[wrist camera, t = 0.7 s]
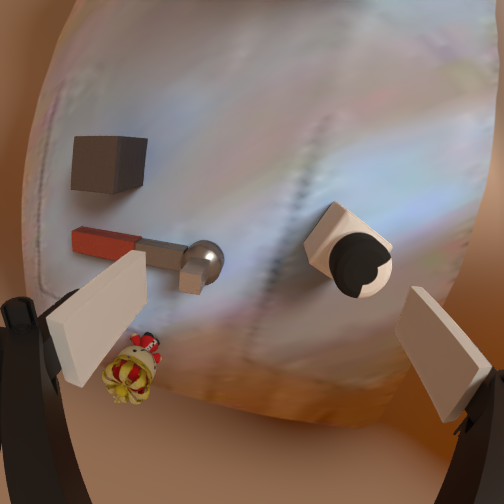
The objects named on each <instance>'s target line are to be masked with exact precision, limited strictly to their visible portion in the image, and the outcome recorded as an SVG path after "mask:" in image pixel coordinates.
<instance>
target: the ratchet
mask: <svg viewBox="0 0 504 504" xmlns="http://www.w3.org/2000/svg"><path fill="white" fill-rule="evenodd" d="M72 246H73V251H74V252H78V253H83V254H87V255H92V256H96V257H101V258H105V259H110V260H115V261H117V260H119V259H120V258H121V257H123V256H124V255H125V254H127V253H128V252H130V251H131V250H136V251H143V252H146V265H150V266H155V267H160V268H166V269H171V270H176V271H180V278H179V291H181V292H186V293H191V294H197V295H200V293H201V291H202V289H203V287H204V285H209V284H211V283H213V282H214V281H215V280H216V279H217V278H218V276H219V274H220V272H221V270H222V267H223V265H224V255H223V252H222V250H221V249H220V247H219V246H218V245H216V244H215V243H213V242H211V241H207V240H201V241H197V242H195V243H194V244H192V245H191V247H190V248H189V249H188V246H186V245H180V244H174V243H168V242H162V241H157V240H151V239H145V238H142V237H141V236H135V235H129V234H123V233H118V232H112V231H106V230H100V229H94V228H88V227H83V226H81V227H79V228H77V229H75V230H73V231H72Z"/></svg>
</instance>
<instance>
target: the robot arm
mask: <svg viewBox="0 0 504 504" xmlns="http://www.w3.org/2000/svg"><path fill="white" fill-rule="evenodd" d="M146 303H147V286H146V252H143V251H136V250H131V251H130V252H128V253H127V254H125V255H124V256H123V257H121V258H120V259H119V260H117V261H116V262H115V263H113V264H112V265H111V266H109V267H108V268H107V269H105V270H104V271H103V272H101V273H100V274H99V275H98V276H96V277H95V278H94V279H92V280H91V281H90V282H89V283H87V284H86V285H85V286H83V287H82V288H81V289H76V290H74V291H72V292H69V293H67V294H66V295H65V296H64V297H62V298H61V300H59V301H57V302H56V303H55V305H52V306H51V307H50V308H49V309H47V310H46V311H45V312H44V313H43V314H41V315H40V316H39V317H38V318H37V315H36V311H35V307H34V303H33V300H32V299H30V298H28V297H16V298H12V299H10V300H8V301H6V302H5V303H4V304H3V305H2V306H1V308H0V309H1V313H2V316H3V319H4V322H5V326H6V327H0V450H1V444H2V450H3V460H4V468H5V475H6V481H7V487H8V492H9V496H10V501H11V504H92V502H91V499H90V497H89V494H88V492H87V489H86V486H85V484H84V481H83V478H82V475H81V472H80V469H79V466H78V463H77V460H76V457H75V453H74V450H73V446H72V443H71V439H70V435H69V432H68V427H67V423H66V418H65V414H64V409H63V404H62V398H61V393H60V387H59V382H58V379H57V376H56V375H57V374H58V373H59V372H60V370H61V369H62V372H63V375H64V377H65V380H66V381H67V382H69V383H72V384H74V385H76V386H79V387H81V388H82V387H83V386H84V385H85V383H86V382H87V380H88V379H89V378H90V376H91V375H92V374H93V372H94V371H95V370H96V368H97V367H98V365H99V364H100V363H101V361H102V360H103V359H104V357H105V356H106V355H107V353H108V352H109V351H110V349H111V348H112V347H113V345H114V344H115V343H116V341H117V340H118V339H119V338H120V336H121V335H122V334H123V332H124V331H125V330H126V329H127V327H128V326H129V325H130V323H131V322H132V321H133V320H134V318H135V317H136V316H137V314H138V313H139V312H140V311H141V309H142V308H143V307H144V306H145V304H146ZM394 333H395V335H396V336H397V338H398V340H399V341H400V343H401V345H402V347H403V348H404V350H405V352H406V354H407V355H408V357H409V359H410V361H411V362H412V364H413V366H414V368H415V370H416V372H417V373H418V375H419V377H420V379H421V381H422V383H423V385H424V387H425V388H426V390H427V392H428V394H429V396H430V398H431V400H432V402H433V404H434V406H435V408H436V410H437V412H438V414H439V416H440V418H441V420H442V422H443V423H446V422H451V421H456V420H457V419H458V417H459V416H460V415H461V414H462V412H463V411H464V409H465V411H466V412H467V414H468V415H467V417H466V418H465V419H464V420H463V422H462V423H461V424H460V425H459V427H458V428H457V429H456V430H455V432H454V435H456V433H457V432H458V431H460V434H459V435H458V437H459V438H458V441H457V445H456V448H455V451H454V454H453V457H452V460H451V463H450V466H449V469H448V472H447V474H446V477H445V479H444V482H443V484H442V487H441V489H440V491H439V494H438V496H437V498H436V500H435V503H434V504H504V370H499V371H496V370H495V368H494V367H493V366H492V364H491V363H490V362H489V361H488V359H487V358H486V357H485V356H484V354H482V352H481V351H480V349H478V348H477V346H476V345H475V344H474V342H473V341H472V340H471V339H469V338H468V336H467V335H466V334H465V333H464V332H463V331H462V330H461V328H460V327H459V326H458V325H457V324H456V323H455V322H454V320H453V319H452V318H451V317H450V316H449V315H448V314H447V313H446V312H445V311H444V310H443V308H442V307H441V306H440V305H439V304H438V303H437V302H436V301H435V300H434V299H433V298H432V297H431V296H430V295H429V294H428V293H427V292H426V291H425V290H424V289H423V288H422V287H415V286H410V289H409V292H408V295H407V298H406V301H405V304H404V307H403V309H402V312H401V315H400V318H399V320H398V323H397V326H396V328H395V331H394Z"/></svg>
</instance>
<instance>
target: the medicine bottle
mask: <svg viewBox="0 0 504 504" xmlns="http://www.w3.org/2000/svg"><path fill="white" fill-rule="evenodd" d="M303 246H304V249H305V252H306V255H307V258H308V261H309V264H310V265H312V266H313V267H315V268H316V269H318V270H319V271H321V272H322V273H324V274H325V275H327V276H328V277H330V278H331V279H333V280H334V281H335V283H336V285H337V287H338V288H339V290H340V291H341V292H343V293H344V294H345V295H347V296H350V297H353V298H365V297H368V296H371V295H373V294H375V293H377V292H378V291H379V290H380V289H382V288H383V286H384V285H385V284H386V282H387V281H388V279H389V277H390V274H391V270H392V260H391V256H390V253H389V252H390V251H391V250H392V248H393V247H392V245H391V244H390V243H389V242H388V241H387V240H385V239H384V238H383V237H382V236H380V235H379V234H378V233H377V232H376V231H374V230H373V229H372V228H371V227H369V226H368V225H367V224H366V223H364V222H363V221H362V220H360V219H359V218H358V217H357V216H355V215H354V214H353V213H351V212H350V211H349V210H347V209H346V208H345V207H343V206H342V205H341V204H339V203H338V202H336V201H334V202H333V203H332V204H331V206H330V207H329V208H328V210H327V211H326V213H325V214H324V215H323V217H322V218H321V220H320V221H319V222H318V224H317V225H316V227H315V228H314V229H313V231H312V232H311V233H310V235H309V236H308V238H307V239H306V240H305V242H304V243H303Z"/></svg>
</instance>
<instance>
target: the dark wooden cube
mask: <svg viewBox="0 0 504 504" xmlns="http://www.w3.org/2000/svg"><path fill="white" fill-rule="evenodd" d="M147 140H148V139H146V138H135V137H123V136H76V137H74V147H73V159H72V176H71V190H80V191H90V192H100V193H109V194H115V193H118V192H122V191H125V190H129V189H132V188H136V187H139V186H143V178H144V167H145V157H146V149H147Z"/></svg>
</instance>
